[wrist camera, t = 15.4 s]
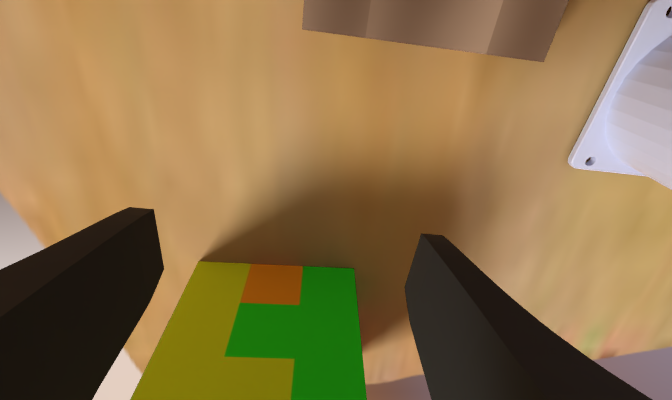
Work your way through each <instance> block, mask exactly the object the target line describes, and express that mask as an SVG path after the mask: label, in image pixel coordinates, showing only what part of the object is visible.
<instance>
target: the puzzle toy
mask: <svg viewBox="0 0 672 400" xmlns="http://www.w3.org/2000/svg"><path fill="white" fill-rule="evenodd" d="M130 400H367V398H366V388H365V377H364V367H363V356H362V346H361V336H360V325H359V315H358V305H357V295H356V284H355V274H354V268H332V267H311V266H289V265H268V264H246V263H225V262H203V261H199V262H198V264H197V266H196V268H195V270H194V272H193V274H192V276H191V278H190V280H189V282H188V284H187V286H186V288H185V290H184V292H183V294H182V296H181V298H180V300H179V302H178V304H177V306H176V308H175V310H174V312H173V314H172V316H171V318H170V320H169V322H168V324H167V326H166V328H165V330H164V332H163V334H162V336H161V338H160V341H159V343H158V345H157V347H156V349H155V351H154V353H153V355H152V357H151V359H150V361H149V363H148V365H147V367H146V369H145V371H144V373H143V375H142V377H141V379H140V381H139V383H138V385H137V387H136V389H135V391H134V393H133V395H132V397H131V399H130Z"/></svg>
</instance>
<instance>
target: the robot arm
mask: <svg viewBox="0 0 672 400" xmlns="http://www.w3.org/2000/svg"><path fill="white" fill-rule="evenodd" d="M670 6H671V12H670V13H669V14H668V15H667V16H666V12H667V10H668V8H669V7H670ZM590 157H591V158H590ZM588 158H590V160H589V161H588V162H586V160H587V159H588ZM585 162H586V163H585ZM568 163H569V164H570V165H571V166H572V167H573V168H576V169H585V170H594V171H603V172H612V173H621V174H630V175H639V176H648V177H650V178H651V179H653V180H655V181H657V182H659V183H660V184H662V185H664V186H666V187H668V188H669V189H671V190H672V0H651V1H650V2H648V4H647V5H646V7H645V8H644V10H643V12H642V14H641V16H640V18H639V20H638V22H637V24H636V26H635V28H634V30H633V32H632V34H631V36H630V37H629V39H628V41H627V43H626V45H625V47H624V49H623V51H622V53H621V55H620V57H619V59H618V61H617V63H616V65H615V67H614V69H613V71H612V73H611V75H610V77H609V79H608V81H607V83H606V85H605V87H604V89H603V91H602V93H601V94H600V96H599V98H598V100H597V102H596V104H595V106H594V108H593V110H592V112H591V114H590V116H589V118H588V120H587V122H586V124H585V126H584V128H583V130H582V132H581V134H580V136H579V138H578V140H577V142H576V144H575V146H574V148H573V149H572V151H571V153H570V155H569V158H568ZM163 270H164V266H163V260H162V254H161V249H160V243H159V237H158V231H157V226H156V220H155V214H154V209H143V208H132V207H129V208H127V209H124V210H122V211H120V212H117V213H115V214H113V215H111V216H109V217H107V218H105V219H103V220H101V221H99V222H97V223H95V224H93V225H91V226H89V227H87V228H85V229H83V230H81V231H79V232H77V233H75V234H73V235H71V236H69V237H67V238H65V239H63V240H61V241H59V242H57V243H55V244H53V245H51V246H49V247H48V248H46V249H43V250H41V251H40V252H37V253H35V254H33V255H31V256H29V257H27V258H25V259H22V260H20V261H18V262H16V263H14V264H12V265H9V266H7V267H5V268H3V269H1V270H0V400H92V399H93V397H94V395H95V393H96V392H97V390H98V388H99V386H100V385H101V383H102V381H103V380H104V378H105V376H106V375H107V373H108V371H109V370H110V368H111V366H112V365H113V363H114V361H115V360H116V358H117V356H118V355H119V353H120V351H121V349H122V348H123V346H124V345H125V343H126V342H127V340H128V338H129V337H130V335H131V333H132V332H133V330H134V328H135V327H136V325H137V323H138V321H139V320H140V318H141V316H142V315H143V313H144V311H145V310H146V308H147V306H148V304H149V303H150V300H151V298H152V296H153V294H154V292H155V289H156V287H157V285H158V282H159V280H160V277H161V275H162V272H163ZM405 293H406V301H407V308H408V314H409V320H410V324H411V328H412V332H413V335H414V339H415V343H416V346H417V350H418V353H419V357H420V360H421V364H422V367H423V371H424V374H425V377H426V381H427V385H428V389H429V392H430V395H431V399H432V400H652V399H650V398H649V397H647V396H646V395H644V394H643V393H641V392H639V391H638V390H636V389H635V388H633V387H632V386H630V385H629V384H627V383H626V382H624V381H623V380H621V379H619V378H618V377H616V376H615V375H613V374H612V373H610V372H608V371H607V370H606V369H604V368H603V367H601V366H600V365H598V364H597V363H595V362H594V361H593V360H591V359H590V358H588V357H587V356H585V355H584V354H583V353H581V352H580V351H579V350H577V349H576V348H574V347H573V346H572V345H570V344H569V343H568V342H566V341H565V340H563V339H562V338H561V337H559V336H558V335H557V334H555V333H554V332H553V331H551V330H550V329H549V328H548V327H546V326H545V325H544V324H542V323H541V322H540V321H539V320H537V319H536V318H535V317H534V316H533V315H531V314H530V313H529V312H528V311H527V310H525V309H524V308H523V307H522V306H520V305H519V304H518V303H517V302H516V301H515V300H513V299H512V298H511V297H510V296H509V295H508V294H506V293H505V292H504V291H503V290H502V289H501V288H500V287H499V286H497V285H496V284H495V283H494V282H493V281H492V280H491V279H490V278H489V277H488V276H486V275H485V274H484V273H483V272H482V271H481V270H480V269H479V268H478V267H477V266H476V265H475V264H474V263H472V262H471V261H470V260H469V259H468V258H467V257H466V256H465V255H464V254H463V253H462V252H461V251H460V250H459V249H457V248H456V247H455V246H454V245H453V244H452V243H451V242H450V241H449V240H447V239H446V238H445V237H444V236H443V235H431V234H421V236H420V239H419V243H418V246H417V249H416V252H415V256H414V259H413V262H412V265H411V269H410V272H409V275H408V278H407V281H406V285H405Z"/></svg>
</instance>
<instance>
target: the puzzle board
mask: <svg viewBox="0 0 672 400" xmlns="http://www.w3.org/2000/svg"><path fill="white" fill-rule="evenodd" d="M568 1H569V0H304V10H303V25H302V29H304V30H311V31H318V32H326V33H333V34H340V35H348V36H355V37H362V38H370V39H377V40H384V41H392V42H399V43H406V44H414V45H421V46H428V47H436V48H443V49H450V50H458V51H465V52H473V53H480V54H487V55H495V56H502V57H509V58H517V59H524V60H531V61H539V62H544V60H545V58H546V55H547V53H548V50H549V48H550V45H551V43H552V41H553V38H554V36H555V33H556V31H557V28H558V26H559V23H560V21H561V18H562V16H563V13H564V11H565V9H566V6H567V4H568Z"/></svg>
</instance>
